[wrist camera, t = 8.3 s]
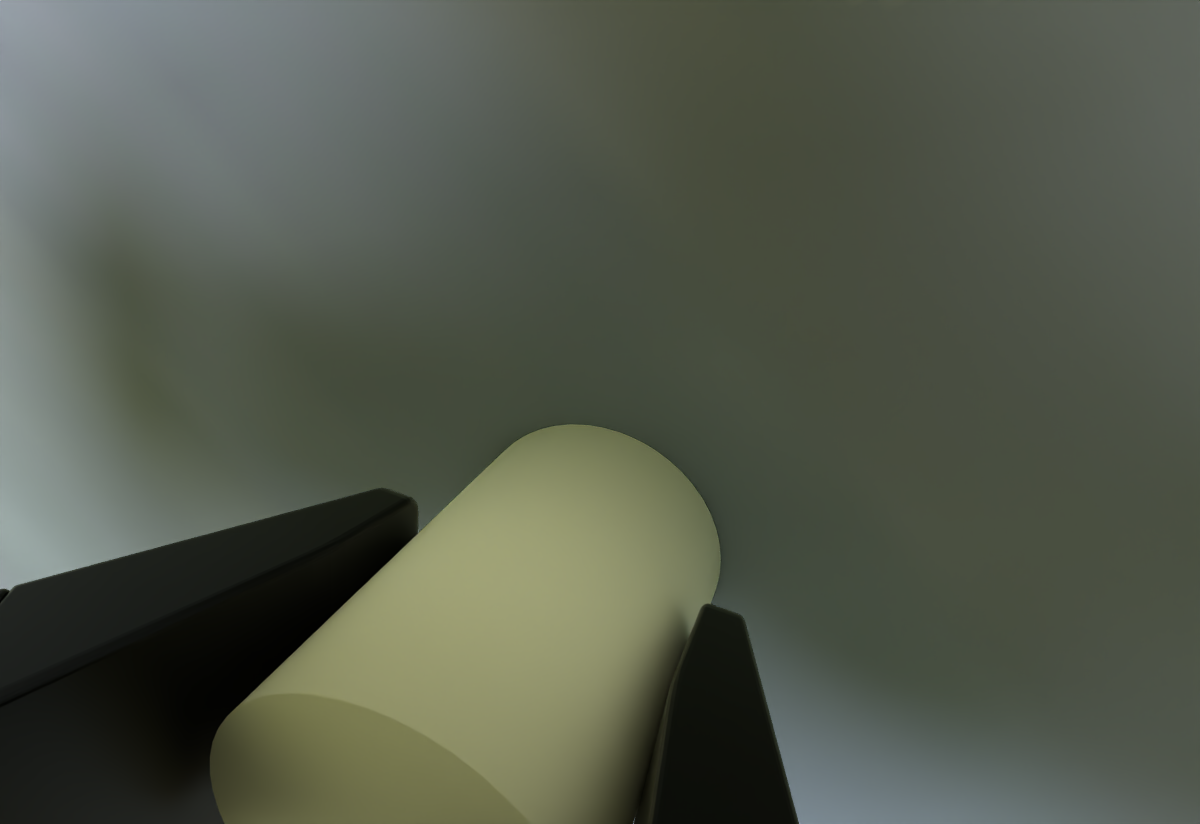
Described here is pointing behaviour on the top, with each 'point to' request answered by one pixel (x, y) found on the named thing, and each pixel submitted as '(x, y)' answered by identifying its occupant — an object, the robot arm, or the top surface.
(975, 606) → the top surface
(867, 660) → the top surface
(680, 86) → the top surface
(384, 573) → the block
